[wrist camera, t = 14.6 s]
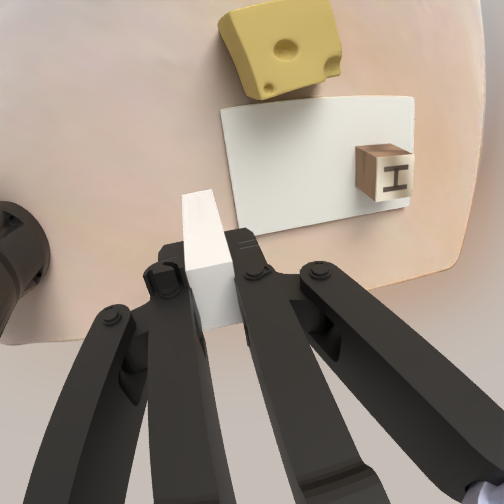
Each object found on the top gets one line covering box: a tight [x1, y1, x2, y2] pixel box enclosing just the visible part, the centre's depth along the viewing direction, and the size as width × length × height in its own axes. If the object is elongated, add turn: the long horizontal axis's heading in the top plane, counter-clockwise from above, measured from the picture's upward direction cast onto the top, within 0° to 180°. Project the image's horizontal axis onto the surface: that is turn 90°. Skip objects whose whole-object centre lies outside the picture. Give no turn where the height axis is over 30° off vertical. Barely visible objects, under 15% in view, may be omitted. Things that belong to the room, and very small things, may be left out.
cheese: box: [218, 0, 342, 100], centre depth 28 cm, size 10×11×10 cm
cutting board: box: [220, 96, 414, 236], centre depth 41 cm, size 28×18×1 cm, turn 97°
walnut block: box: [355, 143, 415, 202], centre depth 39 cm, size 6×6×6 cm
